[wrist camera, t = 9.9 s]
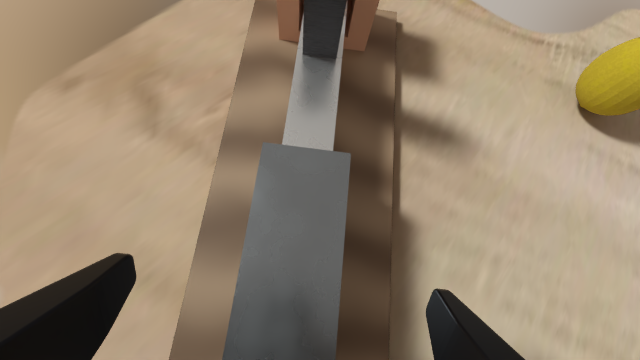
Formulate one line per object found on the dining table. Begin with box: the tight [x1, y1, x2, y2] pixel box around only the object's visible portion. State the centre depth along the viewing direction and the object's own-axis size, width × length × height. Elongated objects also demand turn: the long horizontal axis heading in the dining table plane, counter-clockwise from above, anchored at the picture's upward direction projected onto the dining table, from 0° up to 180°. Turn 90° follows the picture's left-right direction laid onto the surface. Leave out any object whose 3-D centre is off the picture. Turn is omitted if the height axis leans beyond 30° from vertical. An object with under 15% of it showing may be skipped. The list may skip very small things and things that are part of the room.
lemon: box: [576, 37, 640, 116], centre depth 25 cm, size 6×6×8 cm
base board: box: [169, 0, 397, 360], centre depth 24 cm, size 34×14×1 cm, turn 174°
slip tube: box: [282, 0, 348, 151], centre depth 18 cm, size 23×3×11 cm, turn 174°
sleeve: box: [222, 142, 351, 360], centre depth 18 cm, size 14×5×6 cm, turn 174°
